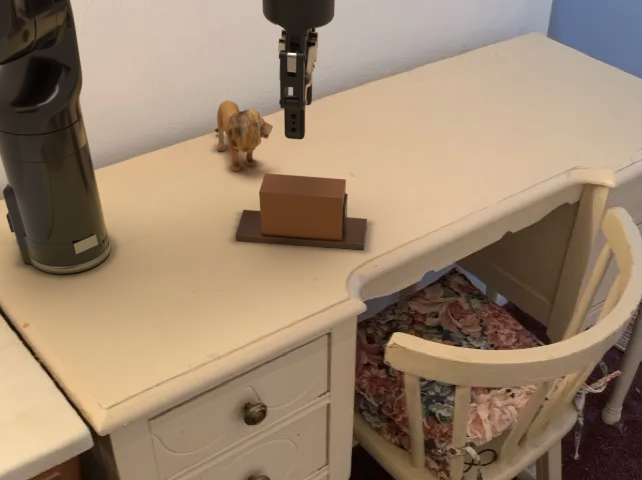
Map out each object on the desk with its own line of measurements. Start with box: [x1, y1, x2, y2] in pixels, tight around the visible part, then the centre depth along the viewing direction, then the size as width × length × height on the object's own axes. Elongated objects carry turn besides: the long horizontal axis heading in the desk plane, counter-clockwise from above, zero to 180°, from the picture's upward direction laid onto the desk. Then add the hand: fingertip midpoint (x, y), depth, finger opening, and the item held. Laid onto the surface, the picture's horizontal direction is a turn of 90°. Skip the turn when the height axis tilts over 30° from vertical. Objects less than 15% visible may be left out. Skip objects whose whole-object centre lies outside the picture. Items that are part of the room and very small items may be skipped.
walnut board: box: [234, 209, 368, 251], centre depth 105 cm, size 16×6×1 cm, turn 87°
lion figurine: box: [214, 100, 274, 172], centre depth 116 cm, size 15×5×9 cm, turn 33°
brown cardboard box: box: [258, 172, 349, 240], centre depth 103 cm, size 4×10×6 cm, turn 87°
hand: (298, 120), depth 96 cm, fingers open, 8 cm apart
